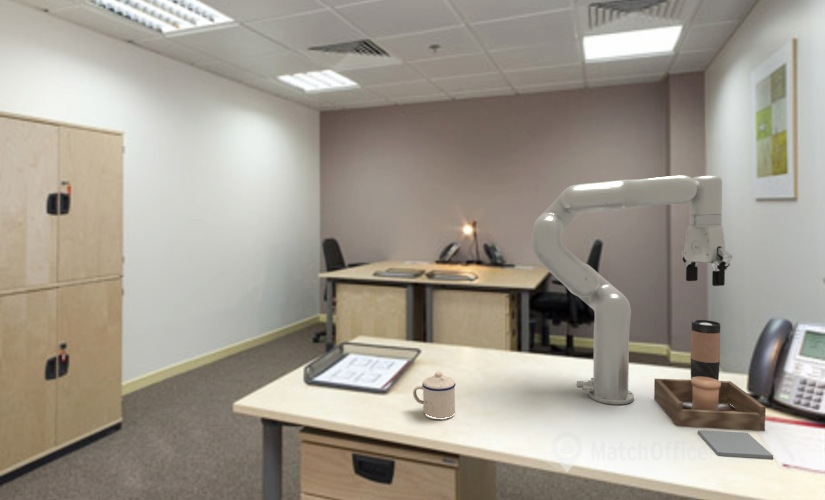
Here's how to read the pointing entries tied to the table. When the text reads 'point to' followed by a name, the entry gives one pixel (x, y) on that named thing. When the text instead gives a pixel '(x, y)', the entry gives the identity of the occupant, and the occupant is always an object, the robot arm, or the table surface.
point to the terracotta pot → (705, 393)
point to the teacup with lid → (437, 396)
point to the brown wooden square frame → (681, 390)
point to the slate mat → (734, 444)
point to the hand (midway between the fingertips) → (704, 283)
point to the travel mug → (705, 349)
